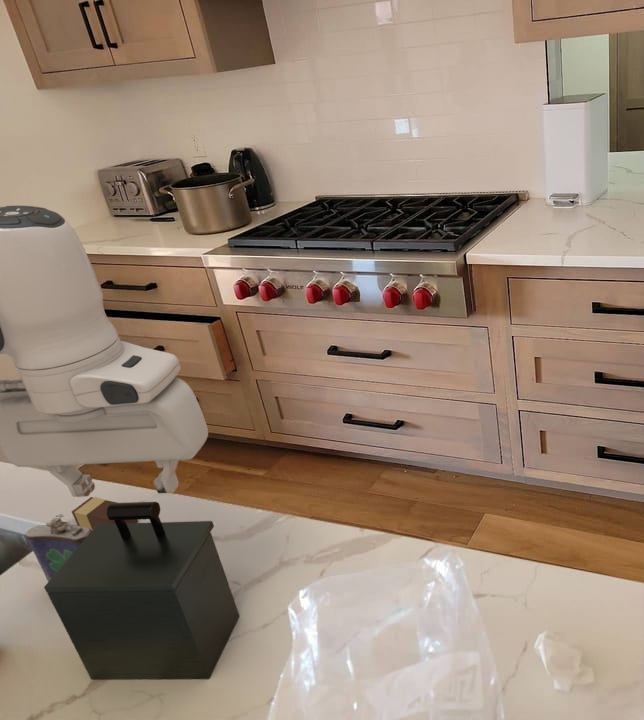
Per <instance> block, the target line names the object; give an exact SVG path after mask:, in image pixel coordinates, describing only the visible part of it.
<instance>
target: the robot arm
mask: <svg viewBox="0 0 644 720" xmlns="http://www.w3.org/2000/svg"><path fill="white" fill-rule="evenodd" d="M97 277H98V276H97V274H96V272H95V270H94V267H93V265H92V263H91V260H90V258H89V256H88V254H87V251H86V249H85V248H84V246H83V244H82V242H81V240H80V238H79V236H78V234H77V233H76V231H75V230H74V228H73V226H71V224H70V223H69V222H68V220H66V219H65V217H64V216H62V215H60V214H59V213H58V212H56V211H54V210H51V209H48V208H45V207H40V206H34V205H5V206H0V355H5V356H8V357H9V358H10V359H11V361H12V362H13V364H14V367H15V369H16V371H17V374H18V376H19V379H0V448H1V450H2V453H3V455H4V457H5V459H6V460H7V461H8V462H9V463H11V464H13V465H14V466H16V468H33V467H34V468H35V467H47V469H48V472H49V473H50V474H51V475H52V476H54V477H55V478H56V479H57V480H59V481H60V482H61V483H63V484H64V485H65V486H67V488H68V489H69V492H70V495H71V496H72V497H73V498H82V497H84V498H85V497H89V496H90V495H91V493H93V491H94V490H95V488H96V485H95V482H94V481H93V477H92V475H91V474H89V473H88V474H83V473H82V471H80V469H79V468H78V467H77V465H96V464H97V465H98V464H99V465H101V464H119V463H120V464H121V463H141V462H142V463H143V462H155V465H156V467H157V468H158V469H162V468H163V469H162V470H161V471H160V472H159V474H158V476H156V477H155V479H154V480H153V484H154V488H156V492H157V493H158V494H173V493H175V492H176V490H177V489H178V487H179V479H178V476H177V474H176V471H177V468H178V465H179V461H187V460H188V461H189V460H192V459H193V458H194V457H195V456H196V455H197V454H198V453H199V451H200V450H201V449H202V448H203V446H204V445H205V443H206V441H207V439H208V437H209V429H208V425H207V422H206V419H205V416H204V413H203V411H202V408H201V406H200V403H199V401H198V399H197V397H196V394H195V393H194V391H193V389H192V388H191V386H190V385H189V384H188V383H187V382H186V381H184V380H183V379H182V378H179V377H177V376H178V375H179V373H180V372H181V368H182V367H181V363H180V360H179V359H178V357H177V356H176V355H175V354H173V353H171V352H167V351H166V352H165V351H162V350H157V349H152V348H149V347H145V346H142V345H138V344H134V343H131V342H128V341H124V340H121V338H120V335H119V333H118V331H117V329H116V327H115V326H114V324H113V323H112V322H111V321H110V319H109V318H108V316H107V314H106V312H105V308H104V307H105V306H104V294H103V290H102V287H101V285H100V282H99V280H98V278H97ZM75 465H76V466H75Z"/></svg>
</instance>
